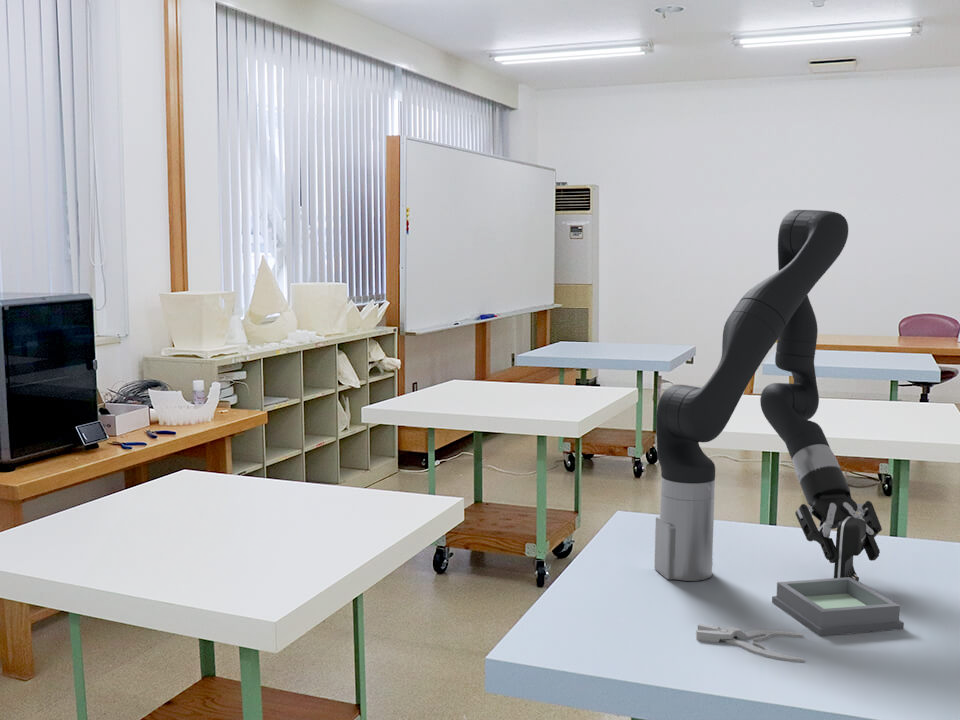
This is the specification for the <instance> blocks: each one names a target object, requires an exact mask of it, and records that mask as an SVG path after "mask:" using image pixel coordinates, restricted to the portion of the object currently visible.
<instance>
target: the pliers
mask: <svg viewBox="0 0 960 720" xmlns="http://www.w3.org/2000/svg"><path fill="white" fill-rule="evenodd" d="M695 631H696V633H695V635H696V636H695V638H696V639H695V640H696V641H703V642H710V643H711V642H713V643H719V642H720V641H721V642H725V643H726V644H729V645H732V646H733V645H734V646H736V647H739V648H742V649H744V650H746V651H748V652H749V653H752V654H756V655H759V656H762V657H767V658H770V659H775V660H781V661H788V662H797V663H804V662H805V658H804V657H798V656H793V655H788V654H787V655H786V654H783V653H779V652H774V651H772V650H770V649H769V648H768V647H766V645H763V644H761V643H759V642H760V641H764V640H768V639H769V638H772V637H787V638H788V637H791V638H802V639H803V638H804V635H805V634H804V633H799V632H793V631H792V632H791V631H785V630H772V629H771V630H770V629H767V630H765V629H764V630H763V629H762V630H750V631H745V632H744V631H743V630H741V629H740V628H737V627H726V628H721V627H720V626H717V625H710V624H703V623H698V624H697V630H695ZM736 638H737V639H736ZM749 639H753V642H752V644H751V643H749V642H746V641H743V640H749Z"/></svg>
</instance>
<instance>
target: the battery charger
mask: <svg viewBox="0 0 960 720" xmlns="http://www.w3.org/2000/svg"><path fill="white" fill-rule="evenodd" d="M835 536H836V537H835V538H836V539H835V547H836V550H837V552H838V555H839V559H838V560H837V561H836V563H834V566H833V567H834V568H833V569H834V570H833V571H834V572H833V578H844V577H851V578H852V579H854V580H856V581H858V582H859V581H860V577H859V576H858V574H857V572H856V570H855V567H854V556H859V555H861V553H862V552H863V550H865V549H864V548H865V546H866V523H865V522H864V520H862V519H859V518H853V517H850V516H848V517H844V518H843V519H842V520H841V521H840V522H839V523H838V527H837V528H836V535H835Z"/></svg>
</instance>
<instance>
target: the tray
mask: <svg viewBox="0 0 960 720" xmlns="http://www.w3.org/2000/svg"><path fill="white" fill-rule="evenodd" d="M771 602H772V603H771V604H773V605H775V606H777V608H779V609H781V610H782V611H783V612H785V613H786V614H788V615H789V616H790V617H791V618H793V619H795V620H796V621H797V622H799V623H800V624H802V625H803V626H804V627H806V628H807V629H808V630H810V631H812V632H813V633H815V634H816V635H817V636H818V637H822V636H823V637H824V636H825V637H826V636H838V634H839V635H849V633H851V634H860V633H861V632H863V633H871V632H870V631H875V632H882V631H881V630H887V631H893V630H892V629H898V630H904V629H905V628H904V627H905V622H904V621H902V620H901V619H900V610H901V609H900V608H901V606H900V605H899V604H898V603H896V602H894V601H892V600H891V599H889V598H888V597H886V596H884V595H882V594H880V593H879V592H877V591H875V590H873V589H872V588H870V587H868V586H866V585H864V584H862V582H859V581H856V580H854V579H852V578H851V577H844V578H834V577H833V578H818V579H806V580H805V579H804V580H790V581H789V580H788V581H777V583H776V595H772V596H771Z"/></svg>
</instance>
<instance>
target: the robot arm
mask: <svg viewBox="0 0 960 720" xmlns="http://www.w3.org/2000/svg"><path fill="white" fill-rule="evenodd" d="M777 236H778V237H777V262H778V263H777V264H778V265H777V266H778V271H776V272H775V273H773V274H772V275H770V276H768V277H767V278H765V279H763V280H762V281H761V282H759V283H757V284H756V285H754V286H753V287H751V288H750V289H749V290H748V291H747V292H746V293H745V294H744V295H743V296H742V297H741V298H740V300H739V301H738V303H737V304H736V305H735V306H734V308H733V310H731V311H732V312H731V313H730V315H729V316H728V317H727V319H726V321H725V323H724V326H723V332H722V344H721V346H722V347H721V348H722V349H721V357H720V361H719V363H718V365H717V367H716V369H715V370H714V372H713V374H712V375H711V376H710V378H709V379H708V380H707V382H705V384H704V385H703V386H702V387H698V386H691V385H688V384H687V385H686V384H674V385H671V386H669V387H667V388H666V389H665V390H664V391H663V392H662V394H661V396H660V398H659V401H658V404H657V406H656V407H657V408H656V415H655V418H656V422H655V423H656V427H655V428H656V457H657V460H658V464H659V465H660V469H661V470H660V471H661V472H660V473H661V474H660V476H661V477H660V507H659V510H660V512H659V516H656V517H655V529H654V530H655V533H654V534H655V537H654V570H656V571H657V572H658V573H659V574H661V575H662V576H663V577H664V578H665V579H666V580H678V581H686V582H693V581H694V582H698V581H704V580H707V579H709V578H711V577H712V575H713V565H714V564H713V554H714V553H713V552H714V550H713V549H714V546H713V545H714V521H715V518H714V517H715V492H716V491H715V489H716V465H715V463H714V461H713V460H712V458H710V457H708V456H707V455H706V453H705V452H704V451H703V450H702V448H701V446H700V443H709V442H712V441H714V440H715V439H716V438H718V437H719V435H720V434H721V433H722V432H723V431H724V429H725V428H726V426H727V424H728V423H729V421H730V419H731V417H732V415H733V413H734V411H735V410H736V408H737V406H738V404H739V401H740V400H741V398H742V395H743V394H744V392H745V390H746V389H747V387H748V385H749V383H750V382H751V380H752V379H753V377H754V375H755V374H756V372H757V370H758V369H759V367H760V366H761V364H762V363H763V361H764V359H765V358H766V357H767V354H768V353H769V352H770V350H772V348H773V346H774V345H775V343H776V347H775V349H776V352H775V357H774V362H775V366H776V367H777V369H780V370H782V371H784V372H789V373H791V375H792V378H793V383H792V382H791V383H788V382H787V383H785V382H773V383H770V384H768V385H766V386H765V387H764V388H763V389H762V391H761V394H760V398H759V399H760V408H761V412H762V414H763V416H764V418H765V419H766V420H767V422H768V424H769V425H770V426H771V427H772V428H773V429H774V431H775V432H776V434H777V435H778V436H779V438H781V440H782V441H783V442H784V443H785V446H786V449H787V451H788V454H789V456H790V459H791V461H792V464H793V467H794V471H795V474H796V477H797V480H798V482H799V485H800V487H801V489H802V492H803V495H804V498H805V500H806V502H807V504H808V505H807V504H804V503H802V504H801V505H800V506H799V507H798V508H797V510H796V511H795V516H796V518H797V521H798V523H799V525H800V527H801V530H802V532H803V534H804V536H805V538H806V541H808V542H814V541H815V542H817V543H818V544H819V545H820V548H821V550H822V552H823V554H824V558H825V559H826V560H827V561H828V562H829V563H830V564H835V563H836V561H837V560H838V559H839V555H838V552H837V550H836V544H835V542H834V540H833V538H832V537H830V536H831V532H832V530H834V529H837V527H838V523H839V522H840V521H841V520H842V519H843V518H844V517H848V516H850V517H853V518H859V519H862V520H864V522H865V523H866V546H865V548H864V549H863V550H864V551H865V554H866V555H867V557H868V560H869V561H871V562H872V561H873V562H874V561H876V560H877V559H878V558H879V556H880V554H881V553H880V551H881V549H880V548H879V546H878V544H877V541H876V539H875V538H876V537H877V536H878V534H879V533H880V532H881V531H882V530H883V528H882V526H881V523H880V520H879V517H878V515H877V512H876V510H875V508H874V505H873V503H872V502H871V501H870V500H866V501H865V503H856V501H855V500H854V499H853V498H852V496H851V489H850V487H849V484H848V482H847V479H846V478H845V475H844V473H843V470H842V468H841V466H840V464H839V462H838V461H839V460H838V459H837V457H836V455H835V454H834V452H833V450H832V449H831V446H830V444H829V442H828V439H827V437H826V436H825V432H824V430H823V429H822V427H821V425H819V424H818V423H817V422H815V421H812V420H810V419H812V418H813V417H814V415H815V414H816V413H817V412H818V408H819V403H820V395H819V390H818V383H817V377H816V376H817V375H816V369H815V356H816V352H817V351H816V348H817V342H818V334H819V333H818V332H819V331H818V330H819V329H818V321H817V317H816V315H815V311H814V308H813V306H812V304H811V301H810V298H809V295H808V294H809V293H810V292H811V290H812V289H813V287H815V285H816V284H817V283H818V282H819V281H820V280H821V278H822V277H823V276H825V275H824V274H826V272H828V270H829V268H831V267H832V266H833V264H834V263H835V261H836V260H837V259H838V258H839V256H841V253H842V252H843V250H844V248H845V247H846V243H847V241H848V237H849V224H848V220H847V219H846V217H845V216H844V215H842V214H841V213H839V212H837V211H830V210H819V209H817V210H815V209H793V210H790V211H789V212H787V214H785V215H784V216H783V218H782V220H781V222H780V225H779V228H778V235H777ZM813 516H814V518H815V519H817V520H818V521H819V523H818V526H817V525H816V522H815V520H814V518H813Z"/></svg>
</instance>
